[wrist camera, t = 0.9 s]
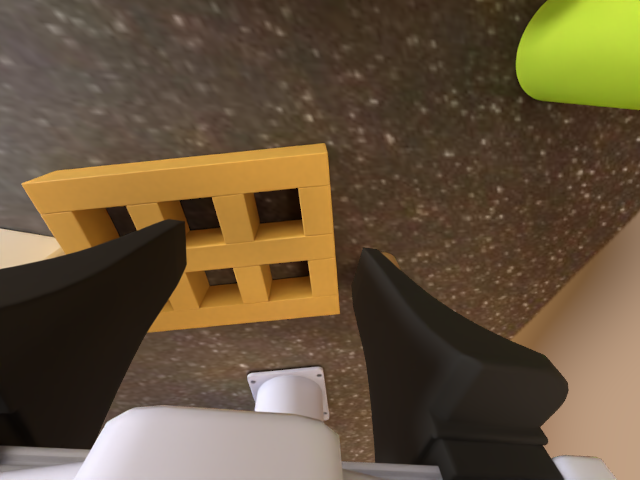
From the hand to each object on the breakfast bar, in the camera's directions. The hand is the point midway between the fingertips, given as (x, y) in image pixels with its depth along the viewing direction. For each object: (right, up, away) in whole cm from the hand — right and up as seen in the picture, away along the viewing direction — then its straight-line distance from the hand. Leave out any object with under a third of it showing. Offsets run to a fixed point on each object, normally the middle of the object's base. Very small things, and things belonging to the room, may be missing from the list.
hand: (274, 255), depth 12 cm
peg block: (-6, +1, +11) cm, 12 cm away
